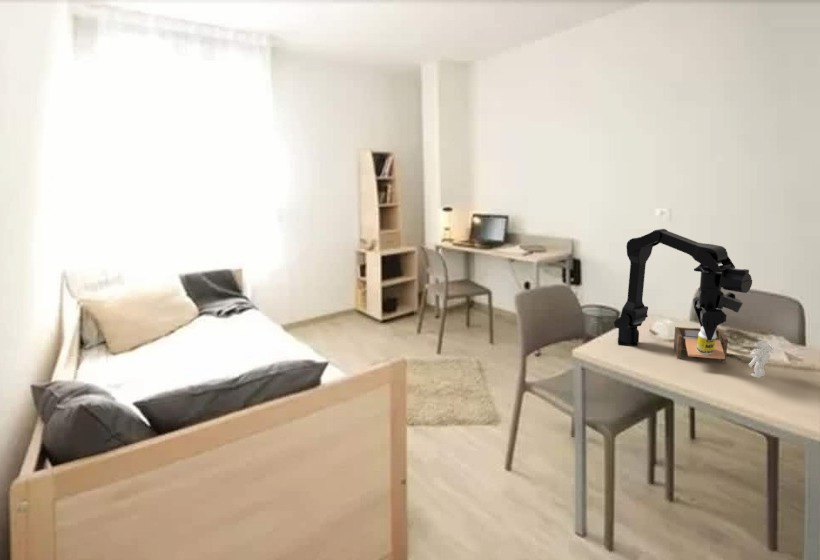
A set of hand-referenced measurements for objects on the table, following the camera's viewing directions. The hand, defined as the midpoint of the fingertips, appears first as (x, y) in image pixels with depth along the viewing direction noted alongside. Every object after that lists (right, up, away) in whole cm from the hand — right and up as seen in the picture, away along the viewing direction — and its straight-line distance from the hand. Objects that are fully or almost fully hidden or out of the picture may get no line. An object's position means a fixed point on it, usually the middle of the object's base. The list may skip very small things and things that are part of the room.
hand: (706, 334), depth 154 cm
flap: (+2, -7, +6) cm, 9 cm away
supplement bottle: (0, -5, +1) cm, 6 cm away
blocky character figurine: (+12, -12, -5) cm, 18 cm away
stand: (+4, -8, +12) cm, 15 cm away
